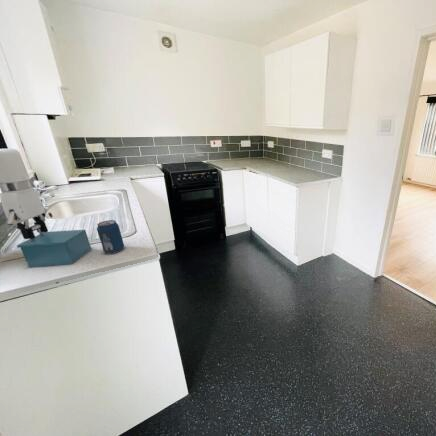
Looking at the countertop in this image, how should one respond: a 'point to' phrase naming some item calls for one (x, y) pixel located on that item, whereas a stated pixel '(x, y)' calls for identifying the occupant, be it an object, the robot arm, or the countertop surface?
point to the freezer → (57, 252)
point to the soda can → (110, 236)
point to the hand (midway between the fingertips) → (36, 234)
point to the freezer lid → (50, 237)
